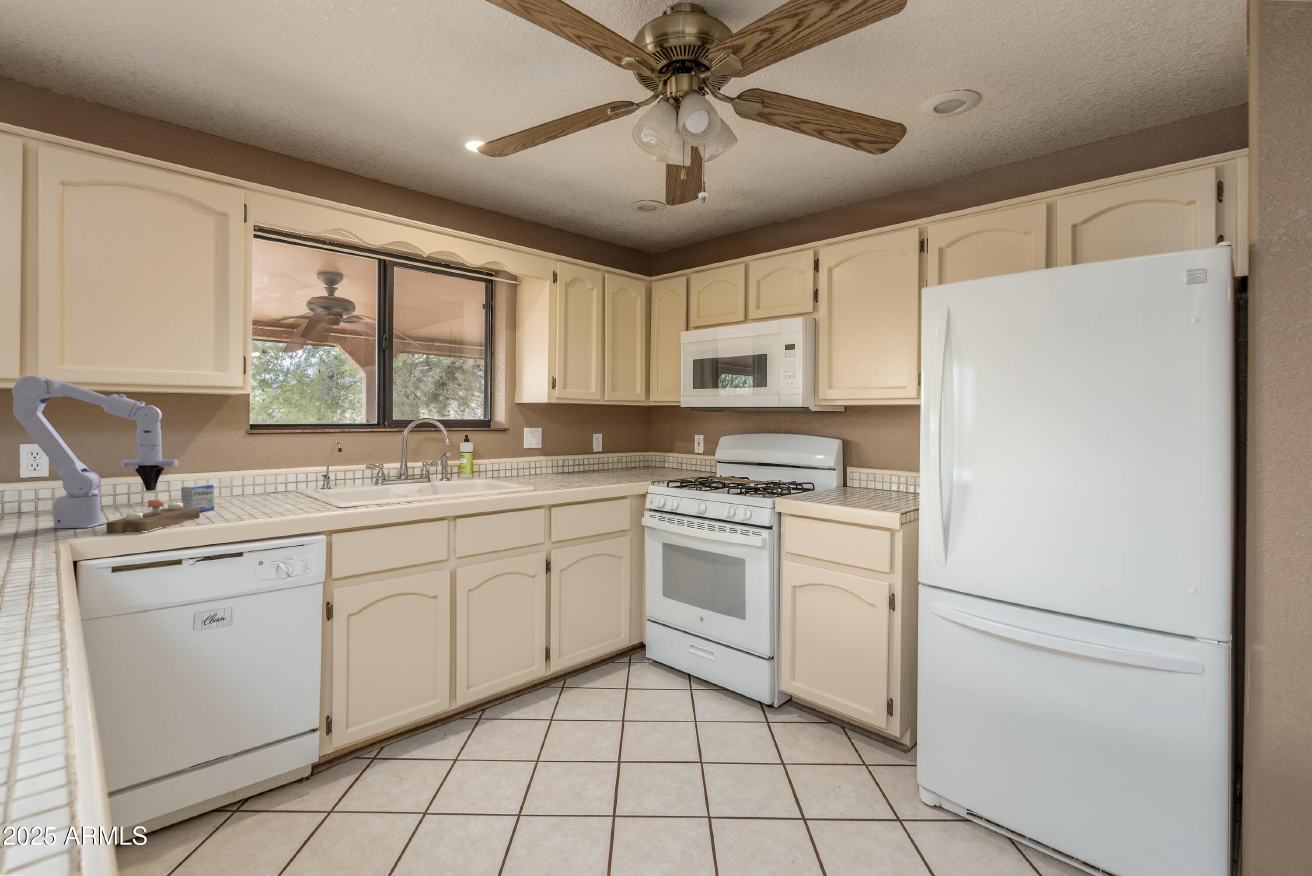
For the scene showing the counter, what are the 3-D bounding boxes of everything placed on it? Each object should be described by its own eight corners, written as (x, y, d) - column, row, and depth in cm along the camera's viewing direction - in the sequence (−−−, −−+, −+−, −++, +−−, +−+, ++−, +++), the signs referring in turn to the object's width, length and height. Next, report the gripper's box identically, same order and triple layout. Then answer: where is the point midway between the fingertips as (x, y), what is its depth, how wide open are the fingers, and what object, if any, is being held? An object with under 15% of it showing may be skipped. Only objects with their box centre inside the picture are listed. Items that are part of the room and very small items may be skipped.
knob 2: (165, 519, 185) (165, 504, 185) (173, 517, 189) (173, 503, 189) (178, 519, 186) (178, 504, 186) (186, 517, 189) (185, 502, 189)
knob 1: (122, 531, 168) (122, 515, 167) (132, 528, 171) (131, 512, 171) (137, 531, 168) (136, 514, 168) (146, 528, 172) (145, 512, 171)
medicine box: (192, 513, 198) (192, 487, 197) (181, 513, 198) (180, 486, 198) (214, 509, 205) (214, 484, 205) (203, 509, 206) (203, 483, 206)
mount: (106, 533, 166) (106, 522, 166) (164, 517, 190) (164, 508, 189) (147, 532, 167) (146, 521, 167) (199, 517, 191) (199, 507, 191)
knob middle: (145, 516, 176) (144, 501, 176) (153, 514, 180) (153, 499, 180) (158, 516, 177) (158, 501, 177) (166, 514, 180) (166, 499, 180)
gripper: (112, 446, 178) (114, 492, 178) (167, 446, 180) (168, 492, 180) (129, 444, 185) (131, 489, 185) (182, 444, 187) (183, 488, 187)
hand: (150, 490), depth 183 cm, fingers closed
